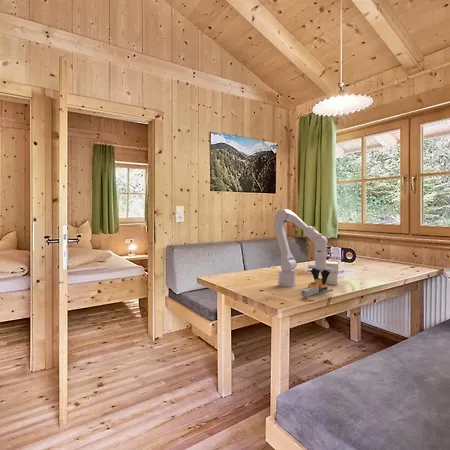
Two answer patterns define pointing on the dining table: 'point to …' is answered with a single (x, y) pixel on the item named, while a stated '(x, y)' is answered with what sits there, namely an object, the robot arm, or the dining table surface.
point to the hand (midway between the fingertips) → (320, 283)
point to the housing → (320, 290)
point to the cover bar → (310, 291)
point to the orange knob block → (320, 282)
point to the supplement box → (332, 276)
